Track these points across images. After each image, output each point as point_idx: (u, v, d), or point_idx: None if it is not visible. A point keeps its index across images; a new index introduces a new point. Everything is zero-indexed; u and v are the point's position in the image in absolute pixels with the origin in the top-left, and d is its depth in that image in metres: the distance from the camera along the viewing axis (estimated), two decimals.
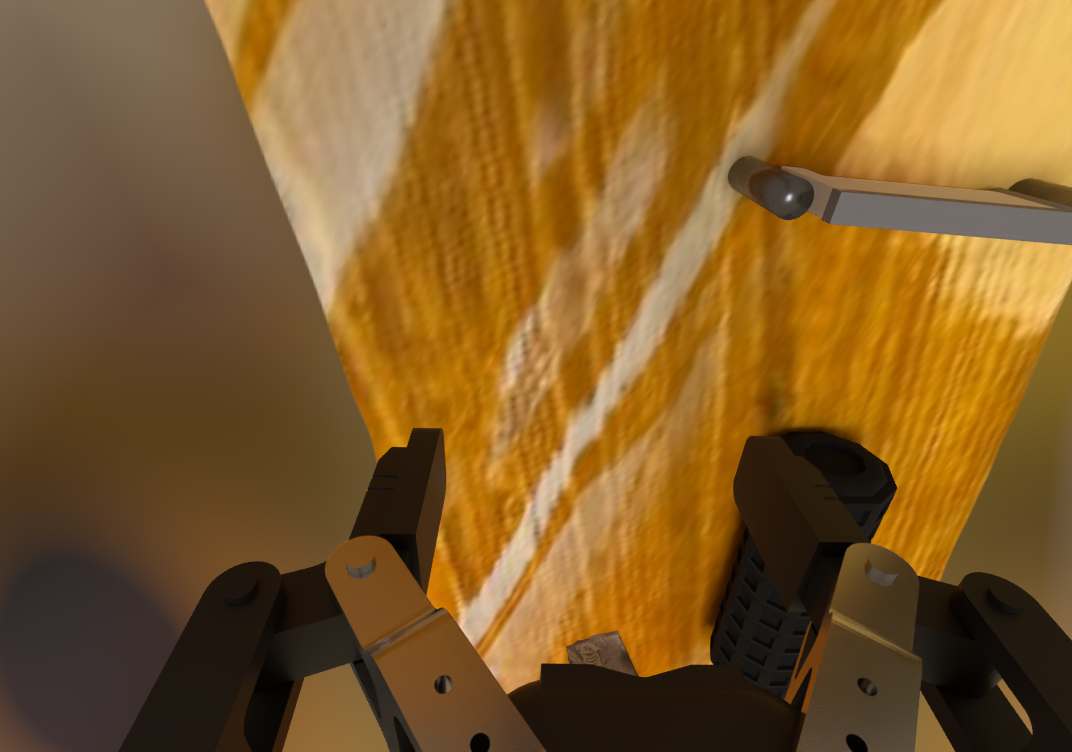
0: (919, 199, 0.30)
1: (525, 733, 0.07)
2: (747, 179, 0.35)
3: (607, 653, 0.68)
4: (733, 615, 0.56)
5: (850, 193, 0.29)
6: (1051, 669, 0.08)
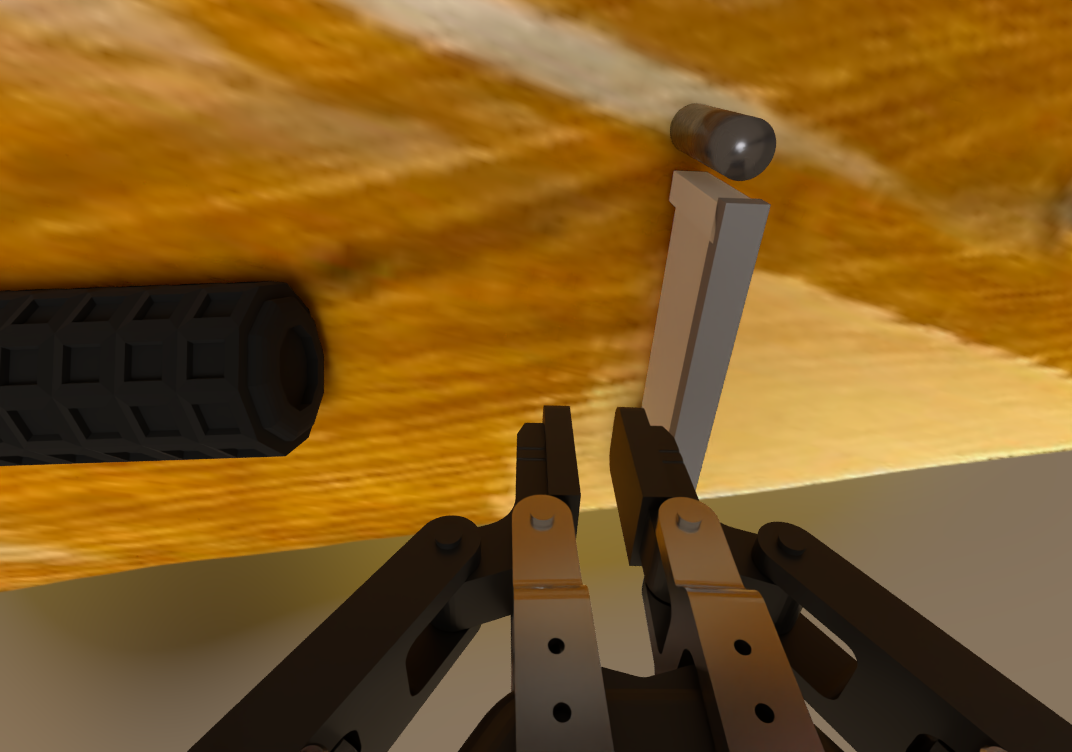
0: (741, 310, 0.23)
1: (604, 730, 0.07)
2: None
3: None
4: None
5: (765, 218, 0.21)
6: (847, 596, 0.09)
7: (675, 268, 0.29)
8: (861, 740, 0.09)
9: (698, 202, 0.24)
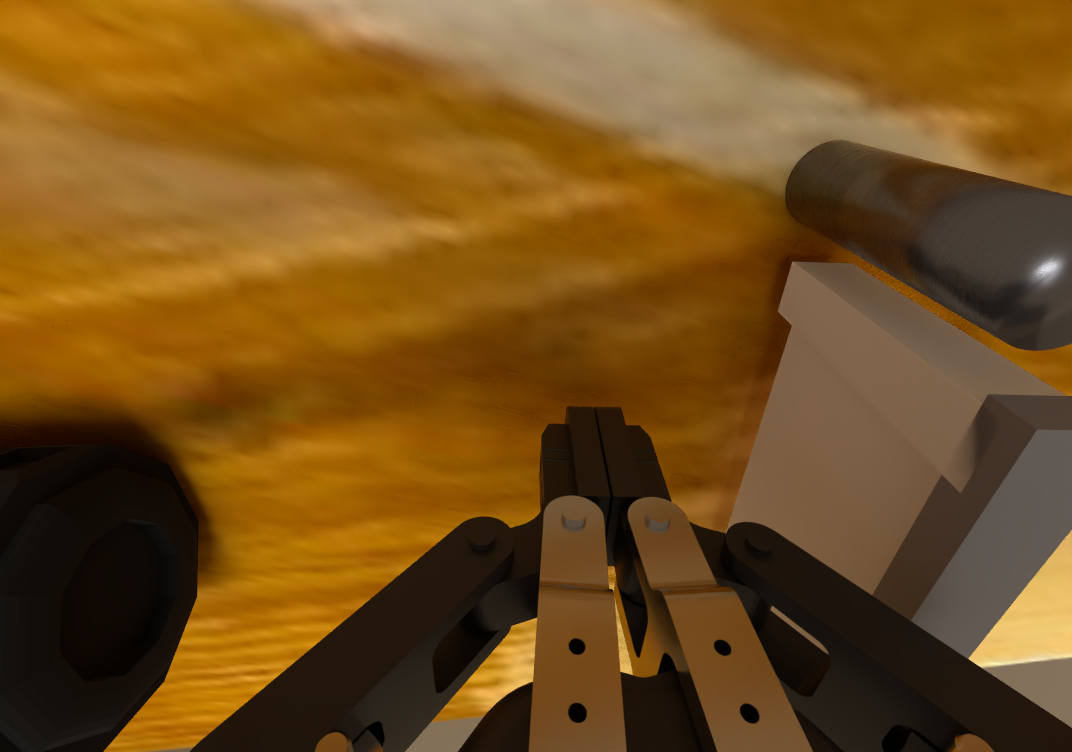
0: (998, 615, 0.10)
1: (618, 736, 0.07)
2: (928, 161, 0.12)
3: None
4: None
5: None
6: (817, 593, 0.09)
7: (793, 437, 0.16)
8: (837, 734, 0.09)
9: (887, 362, 0.11)
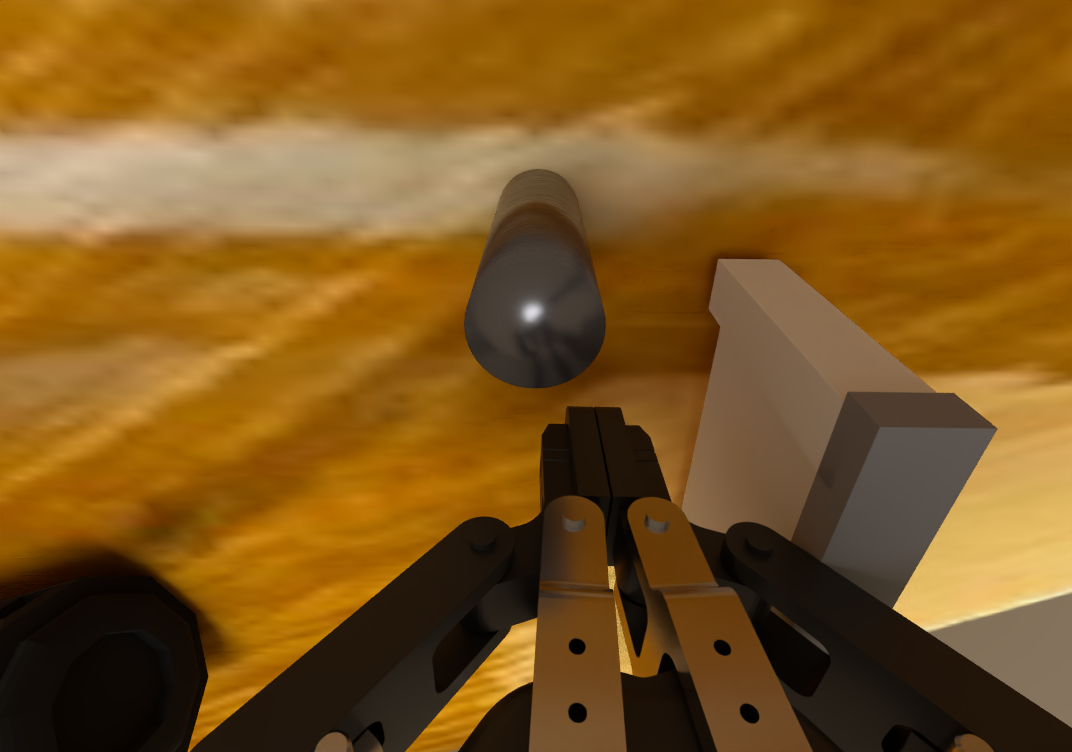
0: None
1: (618, 736, 0.07)
2: (530, 196, 0.12)
3: None
4: None
5: (979, 455, 0.08)
6: (817, 593, 0.09)
7: (722, 435, 0.16)
8: (837, 734, 0.09)
9: (781, 359, 0.11)
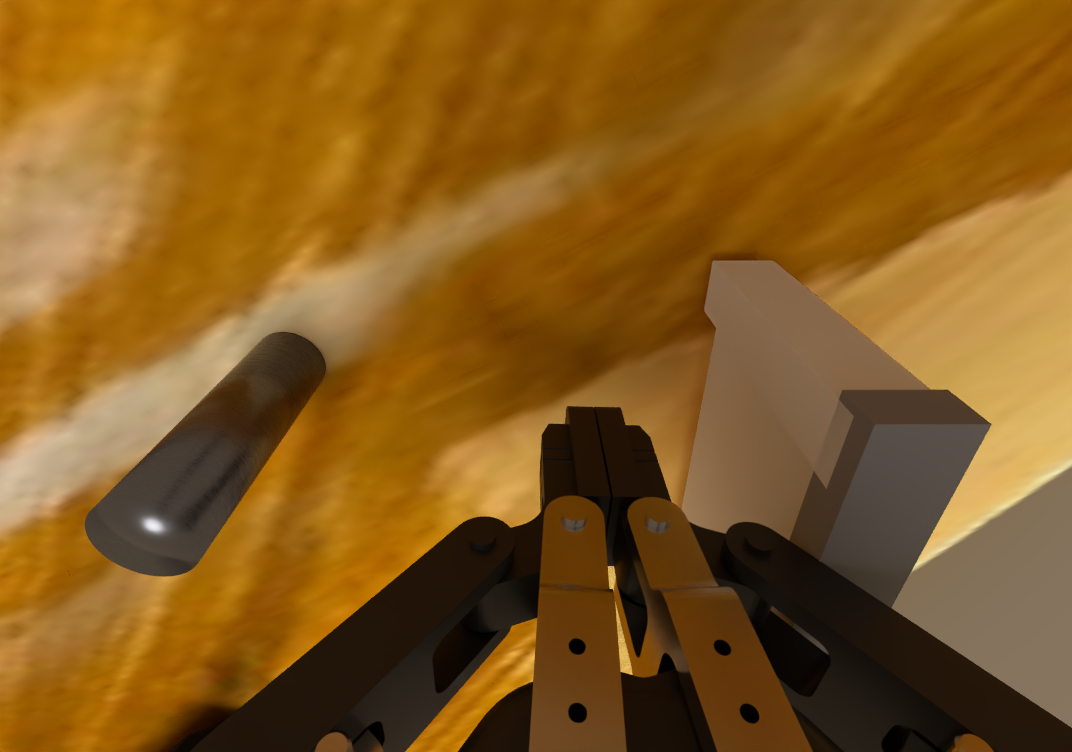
0: None
1: (618, 736, 0.07)
2: (209, 392, 0.15)
3: None
4: None
5: (973, 451, 0.08)
6: (817, 593, 0.09)
7: (719, 436, 0.16)
8: (837, 734, 0.09)
9: (776, 359, 0.11)
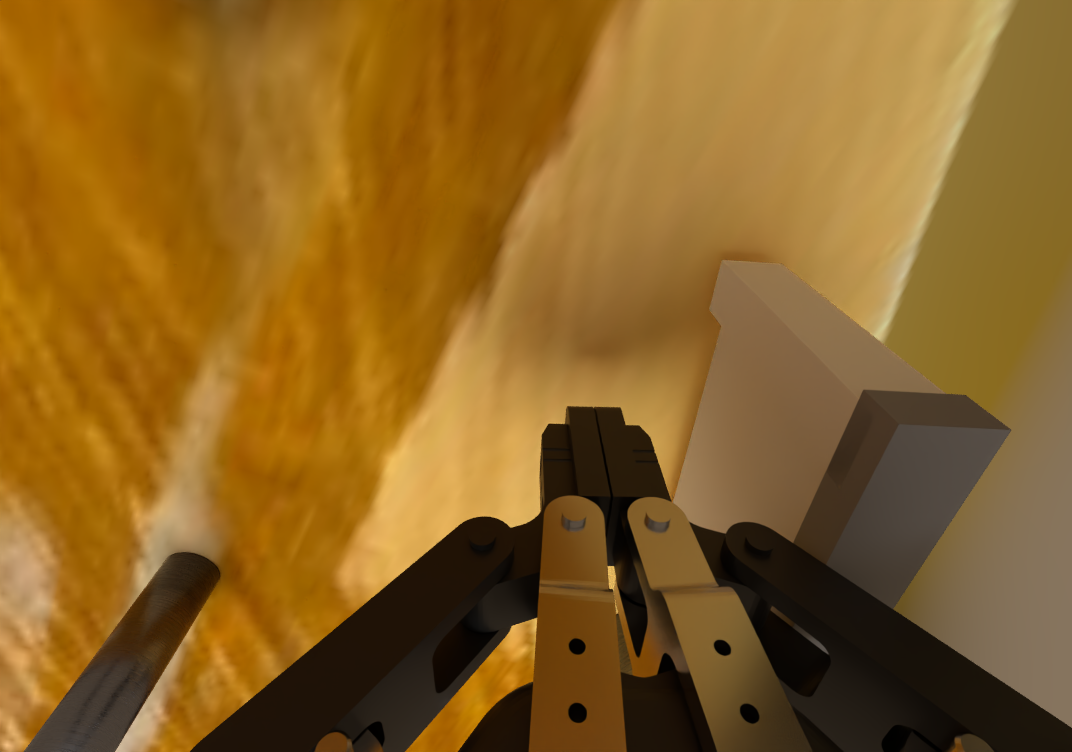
0: None
1: (618, 736, 0.07)
2: None
3: None
4: None
5: (991, 457, 0.08)
6: (817, 593, 0.09)
7: (718, 436, 0.16)
8: (837, 734, 0.09)
9: (789, 359, 0.11)
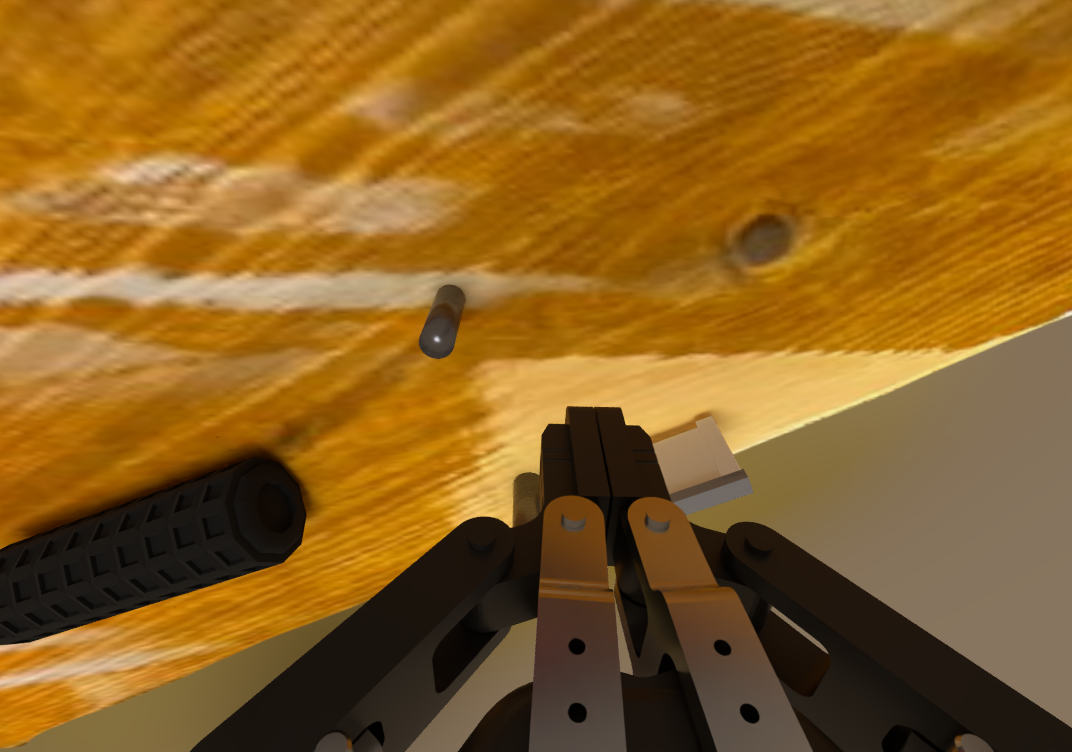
0: (696, 510, 0.43)
1: (618, 736, 0.07)
2: (441, 301, 0.39)
3: None
4: (51, 543, 0.49)
5: (746, 494, 0.42)
6: (817, 593, 0.09)
7: (671, 452, 0.47)
8: (837, 734, 0.09)
9: (724, 452, 0.44)
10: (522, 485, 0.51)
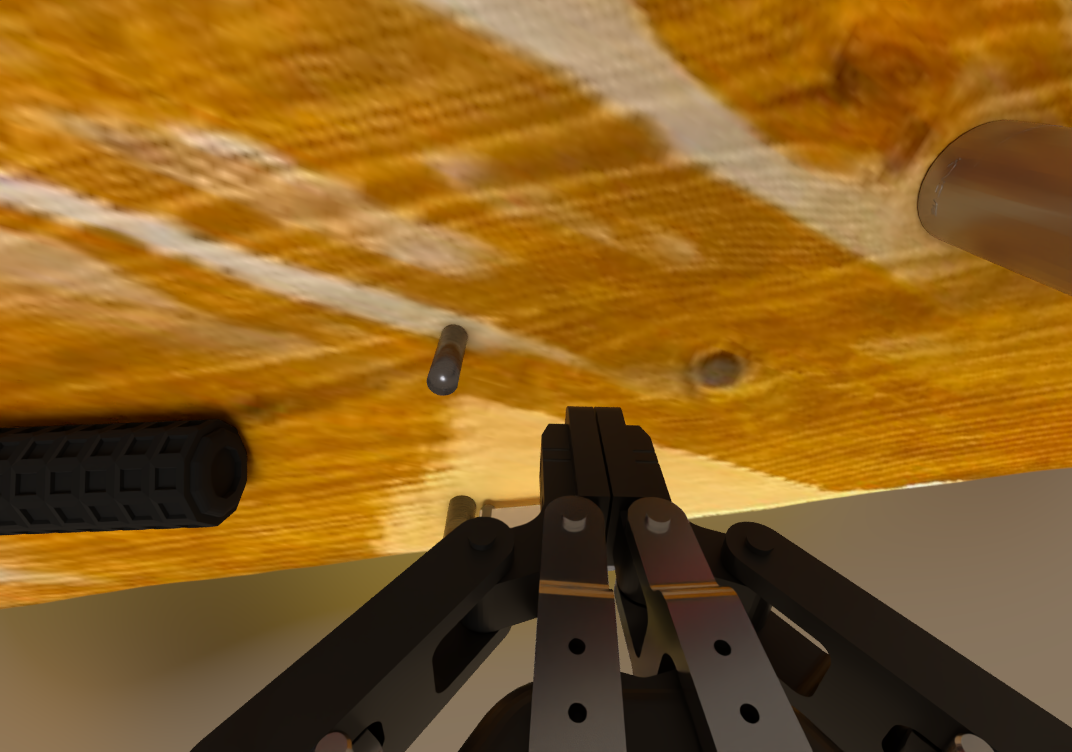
0: None
1: (618, 736, 0.07)
2: (451, 342, 0.44)
3: None
4: None
5: None
6: (817, 593, 0.09)
7: None
8: (837, 734, 0.09)
9: None
10: (458, 507, 0.56)
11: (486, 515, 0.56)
